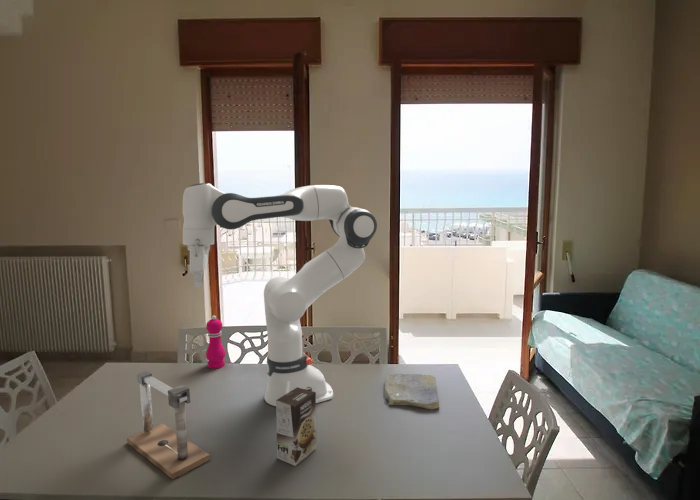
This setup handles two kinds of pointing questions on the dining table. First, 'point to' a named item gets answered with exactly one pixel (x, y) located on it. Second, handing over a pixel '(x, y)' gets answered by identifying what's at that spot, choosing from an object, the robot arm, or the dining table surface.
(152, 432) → the wood and metal stand
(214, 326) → the pepper mill
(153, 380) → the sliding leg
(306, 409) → the coffee box
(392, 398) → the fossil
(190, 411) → the dining table surface
